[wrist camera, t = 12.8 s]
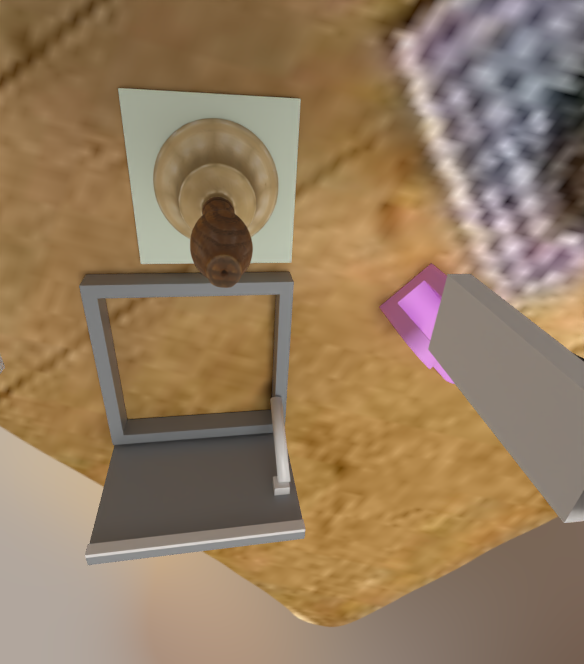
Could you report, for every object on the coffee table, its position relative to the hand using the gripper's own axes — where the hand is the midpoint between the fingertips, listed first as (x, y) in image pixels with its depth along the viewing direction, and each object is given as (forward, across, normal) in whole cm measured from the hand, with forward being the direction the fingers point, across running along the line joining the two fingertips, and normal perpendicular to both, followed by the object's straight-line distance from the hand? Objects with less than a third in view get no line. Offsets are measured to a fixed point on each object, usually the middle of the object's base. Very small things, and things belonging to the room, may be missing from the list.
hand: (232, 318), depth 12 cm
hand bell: (+19, 0, 0) cm, 19 cm away
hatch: (+20, -2, -14) cm, 25 cm away
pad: (+20, 0, 0) cm, 20 cm away
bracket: (+20, +20, -13) cm, 31 cm away
